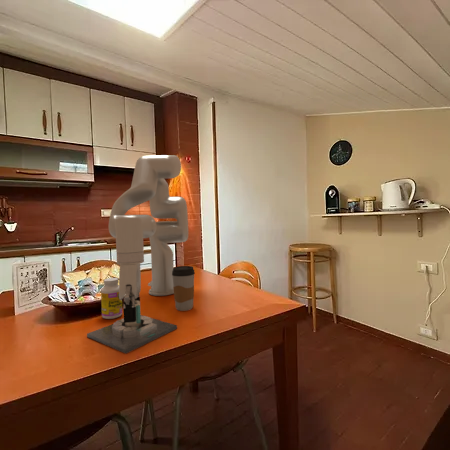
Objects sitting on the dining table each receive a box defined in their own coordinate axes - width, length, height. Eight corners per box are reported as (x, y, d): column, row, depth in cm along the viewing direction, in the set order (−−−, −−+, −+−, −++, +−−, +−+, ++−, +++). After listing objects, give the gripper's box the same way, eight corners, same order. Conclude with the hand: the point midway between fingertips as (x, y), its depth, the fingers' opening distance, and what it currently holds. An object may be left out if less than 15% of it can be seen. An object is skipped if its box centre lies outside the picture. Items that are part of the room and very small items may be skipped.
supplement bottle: (107, 321, 93) (105, 282, 92) (98, 316, 97) (97, 279, 97) (126, 315, 97) (124, 278, 97) (117, 311, 102) (115, 276, 101)
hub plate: (87, 337, 81) (86, 326, 80) (138, 317, 95) (138, 308, 95) (125, 353, 70) (125, 341, 70) (177, 328, 85) (176, 318, 85)
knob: (122, 330, 82) (121, 302, 82) (134, 325, 86) (133, 298, 86) (133, 334, 79) (132, 306, 79) (145, 328, 83) (145, 301, 83)
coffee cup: (199, 305, 106) (198, 266, 106) (189, 313, 98) (188, 270, 98) (179, 303, 109) (178, 265, 108) (168, 310, 101) (167, 269, 100)
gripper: (122, 254, 90) (124, 307, 90) (110, 263, 73) (112, 328, 73) (146, 253, 91) (148, 305, 92) (140, 262, 74) (142, 326, 75)
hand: (132, 315), depth 83 cm, fingers open, 9 cm apart
